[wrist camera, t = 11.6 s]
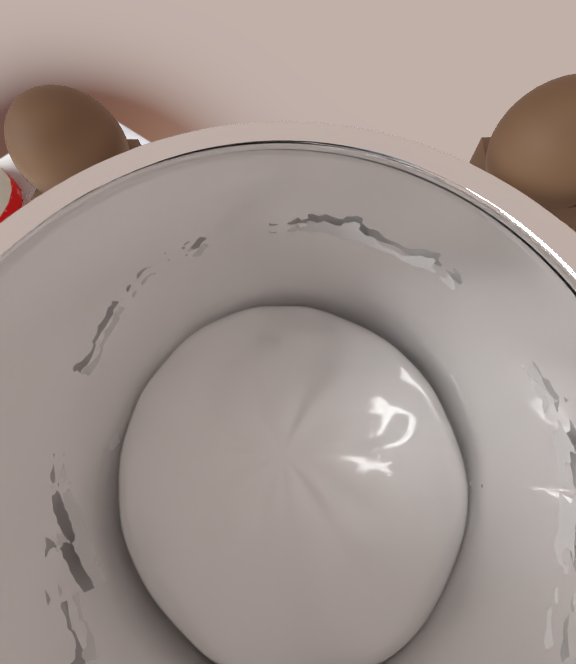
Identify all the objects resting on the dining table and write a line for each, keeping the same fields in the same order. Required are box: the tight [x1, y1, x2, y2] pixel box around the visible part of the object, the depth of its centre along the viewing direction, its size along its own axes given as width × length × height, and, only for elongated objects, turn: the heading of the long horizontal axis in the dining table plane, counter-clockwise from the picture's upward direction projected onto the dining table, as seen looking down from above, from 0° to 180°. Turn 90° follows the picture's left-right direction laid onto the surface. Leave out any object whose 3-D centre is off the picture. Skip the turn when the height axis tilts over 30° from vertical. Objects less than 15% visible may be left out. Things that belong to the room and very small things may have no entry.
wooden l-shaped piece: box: [4, 74, 576, 232], centre depth 16 cm, size 13×15×24 cm
